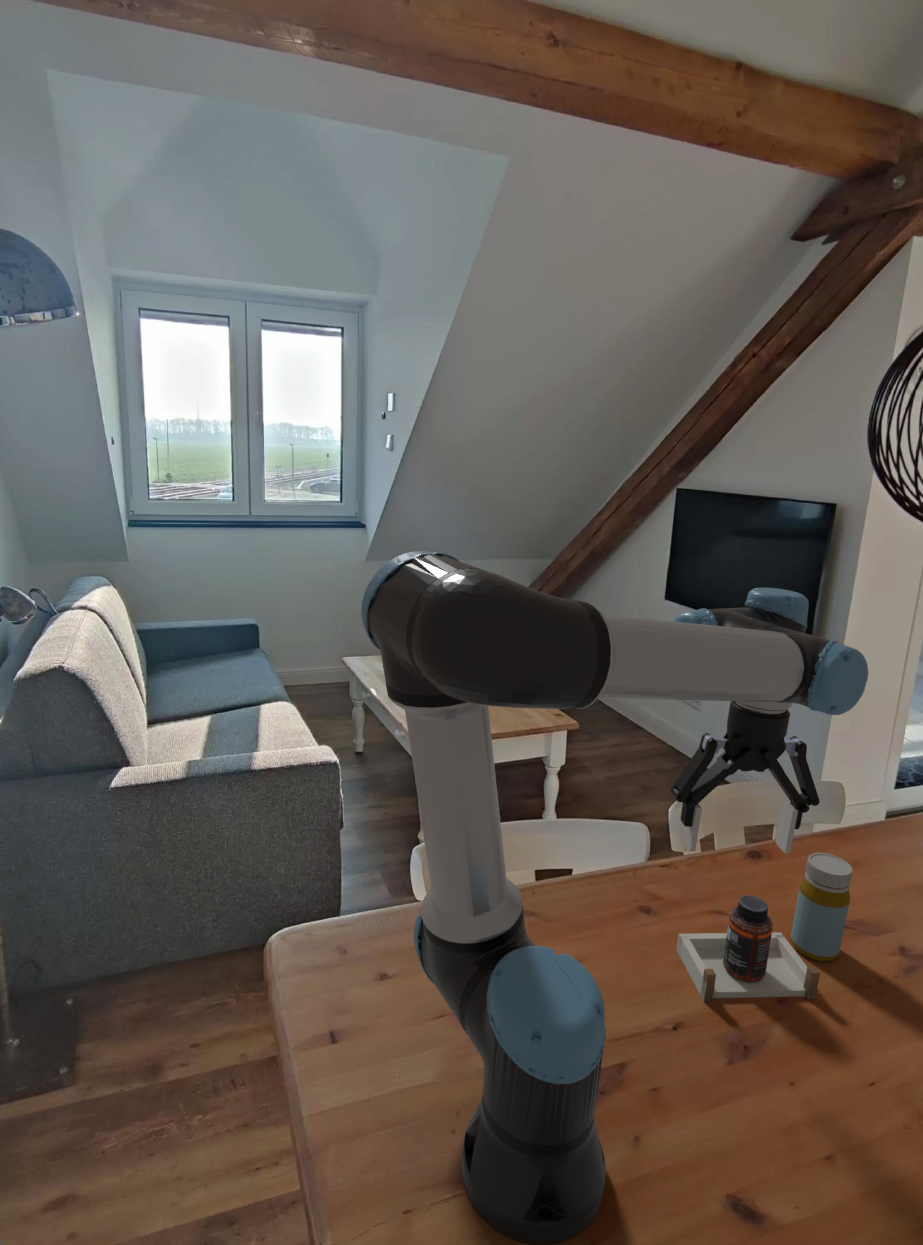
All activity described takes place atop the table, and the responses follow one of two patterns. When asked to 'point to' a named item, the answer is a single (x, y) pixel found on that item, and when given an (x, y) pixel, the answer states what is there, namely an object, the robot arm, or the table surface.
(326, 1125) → the table surface
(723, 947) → the bay
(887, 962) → the table surface
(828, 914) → the bottle
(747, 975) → the supplement bottle
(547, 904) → the table surface
